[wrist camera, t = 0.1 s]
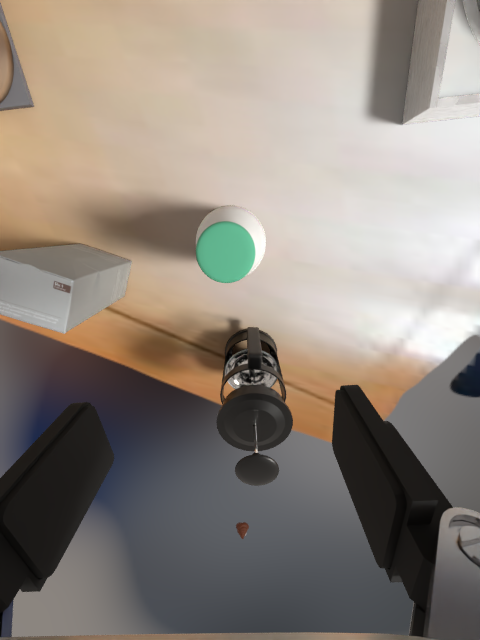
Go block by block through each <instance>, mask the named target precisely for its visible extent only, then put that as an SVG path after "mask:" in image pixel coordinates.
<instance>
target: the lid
mask: <svg viewBox="0 0 480 640" xmlns="http://www.w3.org/2000/svg"><path fill="white" fill-rule="evenodd" d="M13 76H14V62H13V54H12V49H11V45H10V42H9V38H8V36H7V33H6V31H5V28H4V26H3V24H2V22H1V20H0V104H1V103H2V101H3V100H4V99H5V98H6V97H7V95H8V93H9V91H10V89H11V86H12V82H13Z"/></svg>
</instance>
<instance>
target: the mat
mask: <svg viewBox="0 0 480 640" xmlns="http://www.w3.org/2000/svg"><path fill="white" fill-rule="evenodd" d="M0 20H1V22H2V24H3V26H4V28H5V31H6V33H7V36H8V38H9V42H10V45H11V49H12V54H13V62H14V76H13V82H12V86H11V89H10V91H9V93H8V95H7V97H6V98H5V99H4V100H3V101H2V103H1V104H0V111H2V110H10V109H18V108H26V107H34V105H33V102H32V98H31V95H30V92H29V89H28V86H27V83H26V80H25V77H24V74H23V71H22V68H21V65H20V62H19V59H18V55H17V52H16V49H15V46H14V43H13V40H12V37H11V34H10V31H9V28H8V25H7V22H6V19H5V16H4V13H3V9H2V6H1V3H0Z"/></svg>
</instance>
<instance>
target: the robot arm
mask: <svg viewBox="0 0 480 640" xmlns="http://www.w3.org/2000/svg"><path fill="white" fill-rule="evenodd" d="M332 446H333V451H334V454H335V457H336V459H337V462H338V464H339V467H340V470H341V472H342V475H343V477H344V480H345V483H346V485H347V488H348V490H349V493H350V495H351V498H352V501H353V503H354V506H355V508H356V511H357V513H358V516H359V519H360V521H361V524H362V527H363V529H364V532H365V534H366V537H367V539H368V542H369V544H370V547H371V550H372V552H373V555H374V557H375V560H376V562H377V564H378V565H379V567H380V568H385V570H386V572H387V575H388V577H389V579H390V581H391V582H403V584H404V586H405V588H406V591H407V593H408V595H409V598H410V599H411V600H413V601H414V605H413V612H412V618H411V625H410V631H409V636H404V635H393V634H378V633H377V634H375V633H221V634H220V633H211V634H145V635H90V636H89V635H86V636H85V635H84V636H45V637H44V636H41V637H12V618H13V599H14V597H15V596H16V594H17V592H18V591H19V589H21V591H22V592H32V591H40V590H41V588H42V587H43V585H44V583H45V581H46V579H47V578H48V577H49V576H51V575H52V574H53V572H54V571H55V569H56V568H57V566H58V564H59V562H60V560H61V558H62V557H63V555H64V553H65V551H66V549H67V547H68V545H69V544H70V542H71V540H72V538H73V536H74V534H75V532H76V531H77V529H78V527H79V525H80V523H81V521H82V520H83V518H84V516H85V514H86V512H87V510H88V508H89V506H90V505H91V503H92V501H93V499H94V497H95V496H96V494H97V492H98V490H99V488H100V486H101V484H102V483H103V481H104V479H105V477H106V475H107V473H108V471H109V470H110V468H111V466H112V464H113V461H114V454H113V451H112V449H111V446H110V444H109V441H108V439H107V437H106V434H105V431H104V429H103V426H102V424H101V421H100V419H99V416H98V414H97V411H96V409H95V407H94V406H92V405H91V404H90V403H87V402H84V403H73V404H71V405H69V406H68V407H67V408H66V409H65V410H64V411H63V413H62V414H61V415H60V416H59V417H58V418H57V419H56V420H55V421H54V422H53V423H52V424H51V425H50V426H49V427H48V428H47V429H46V431H45V432H44V433H43V434H42V435H41V436H40V437H39V438H38V439H37V440H36V441H35V442H34V443H33V444H32V445H31V446H30V447H29V449H28V450H27V451H26V452H25V453H24V454H23V455H22V456H21V457H20V458H19V459H18V460H17V461H16V462H15V463H14V464H13V466H11V468H10V469H9V470H8V471H7V472H6V473H5V474H4V475H3V476H2V477H1V478H0V640H480V513H477V512H475V511H472V510H470V509H465V508H459V507H456V508H453V507H452V505H451V504H450V503H449V501H448V500H447V499H446V497H445V496H444V494H443V493H442V492H441V490H440V489H439V488H438V486H437V485H436V483H435V482H434V481H433V479H432V478H431V477H430V475H429V474H428V472H427V471H426V470H425V468H424V467H423V466H422V464H421V463H420V461H419V460H418V459H417V457H416V456H415V455H414V453H413V452H412V451H411V449H410V448H409V446H408V445H407V444H406V442H405V441H404V439H403V438H402V437H401V436H400V434H399V433H398V431H397V430H396V429H395V427H394V426H393V425H392V424H391V423H390V422H388V421H383V420H382V418H381V417H380V415H379V414H378V413H377V411H376V410H375V408H374V407H373V405H372V404H371V403H370V401H369V400H368V398H367V397H366V395H365V394H364V392H363V391H362V390H361V388H360V387H359V386H358V385H346V386H341V388H340V390H336V393H335V408H334V422H333V437H332Z"/></svg>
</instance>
